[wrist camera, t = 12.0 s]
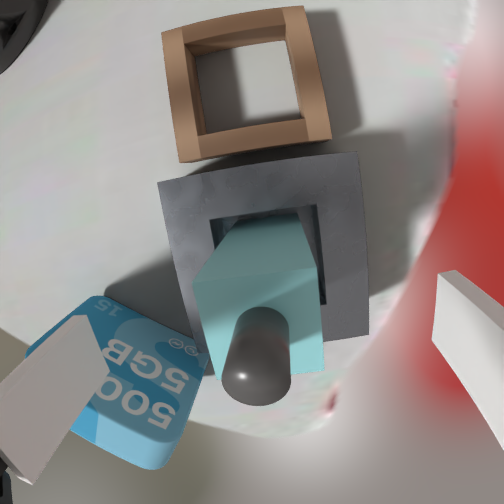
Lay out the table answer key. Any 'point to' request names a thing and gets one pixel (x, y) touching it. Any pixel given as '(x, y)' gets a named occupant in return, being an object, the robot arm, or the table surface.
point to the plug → (261, 308)
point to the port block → (271, 204)
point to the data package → (137, 384)
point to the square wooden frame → (231, 36)
